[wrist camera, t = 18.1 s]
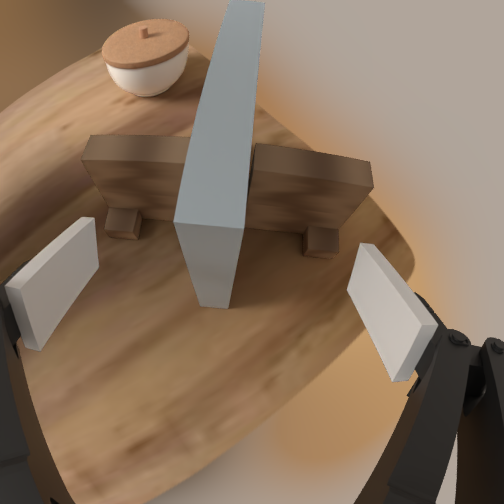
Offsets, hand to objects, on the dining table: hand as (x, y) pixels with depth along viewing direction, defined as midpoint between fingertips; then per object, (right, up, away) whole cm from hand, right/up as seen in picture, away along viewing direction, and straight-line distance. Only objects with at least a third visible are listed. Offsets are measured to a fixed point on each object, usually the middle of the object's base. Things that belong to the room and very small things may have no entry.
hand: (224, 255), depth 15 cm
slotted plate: (-1, +4, +16) cm, 17 cm away
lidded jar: (-12, +23, +22) cm, 34 cm away
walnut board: (-1, +4, +16) cm, 17 cm away
